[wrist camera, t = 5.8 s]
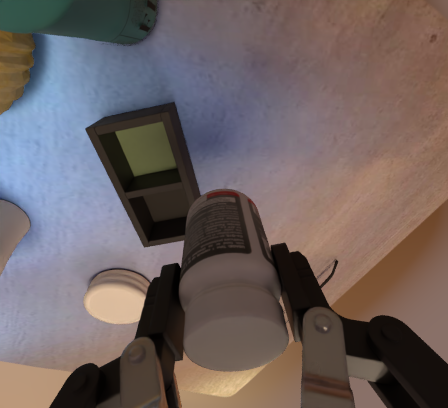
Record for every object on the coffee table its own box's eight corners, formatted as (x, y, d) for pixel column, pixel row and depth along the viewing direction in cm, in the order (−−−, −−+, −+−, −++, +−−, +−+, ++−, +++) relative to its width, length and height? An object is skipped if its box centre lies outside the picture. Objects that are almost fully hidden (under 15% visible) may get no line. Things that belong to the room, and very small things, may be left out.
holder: (151, 225, 33) (144, 247, 30) (103, 117, 26) (84, 128, 22) (206, 214, 33) (205, 236, 29) (174, 102, 25) (168, 111, 21)
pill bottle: (175, 230, 16) (151, 365, 9) (207, 174, 14) (206, 293, 7) (235, 253, 18) (253, 384, 11) (272, 205, 16) (324, 329, 9)
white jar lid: (165, 285, 40) (161, 303, 37) (134, 313, 44) (128, 332, 41) (109, 258, 36) (101, 276, 33) (81, 292, 40) (70, 311, 37)
